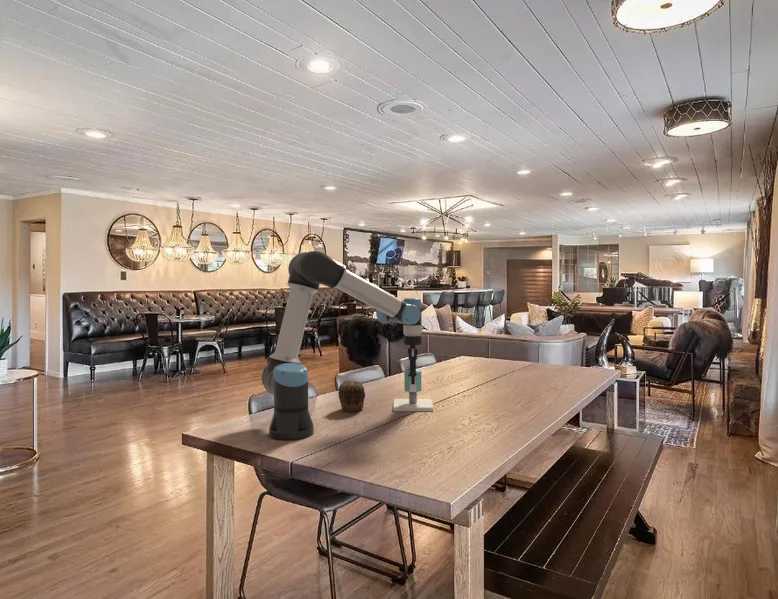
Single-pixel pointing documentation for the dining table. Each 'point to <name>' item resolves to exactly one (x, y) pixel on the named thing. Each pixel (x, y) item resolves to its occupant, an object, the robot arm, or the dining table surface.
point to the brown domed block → (351, 396)
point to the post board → (413, 404)
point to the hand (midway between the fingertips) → (412, 389)
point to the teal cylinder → (407, 380)
